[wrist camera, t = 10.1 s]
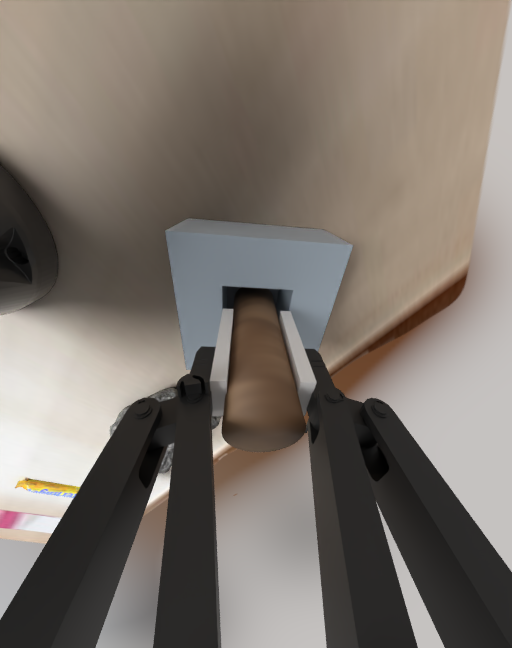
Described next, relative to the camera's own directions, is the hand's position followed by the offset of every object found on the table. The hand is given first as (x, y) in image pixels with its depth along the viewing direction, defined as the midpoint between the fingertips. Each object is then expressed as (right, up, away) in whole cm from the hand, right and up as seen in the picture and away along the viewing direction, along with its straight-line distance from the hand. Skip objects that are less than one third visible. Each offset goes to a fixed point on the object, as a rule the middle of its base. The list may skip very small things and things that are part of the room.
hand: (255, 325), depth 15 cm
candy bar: (-44, -37, +32) cm, 66 cm away
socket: (0, +4, +6) cm, 7 cm away
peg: (0, +2, +3) cm, 4 cm away
